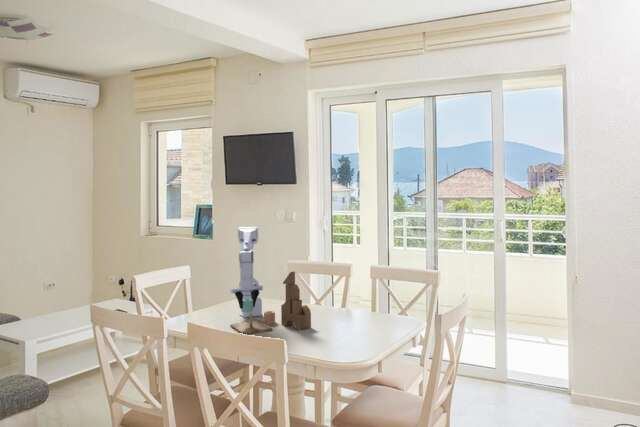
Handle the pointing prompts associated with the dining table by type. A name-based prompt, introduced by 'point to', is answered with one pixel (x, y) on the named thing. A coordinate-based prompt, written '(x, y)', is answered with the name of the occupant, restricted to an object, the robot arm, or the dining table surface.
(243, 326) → the brown piece
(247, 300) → the teal bead
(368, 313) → the dining table surface
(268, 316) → the terracotta bead
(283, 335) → the dining table surface
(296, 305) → the wooden toy
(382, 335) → the dining table surface
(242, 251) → the robot arm
